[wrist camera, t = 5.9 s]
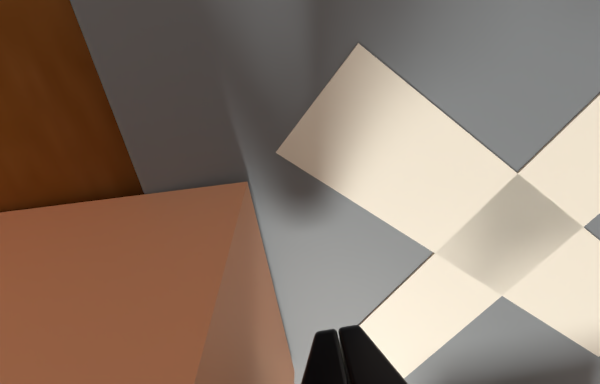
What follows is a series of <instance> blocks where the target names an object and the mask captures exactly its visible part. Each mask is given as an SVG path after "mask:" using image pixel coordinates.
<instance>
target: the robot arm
mask: <svg viewBox="0 0 600 384" xmlns="http://www.w3.org/2000/svg"><path fill="white" fill-rule="evenodd" d="M338 333H339V338H338V334H337V331H336V330H335V329H328V330H322V331H318V332H316V333H315V335H314V339H313V342H312V346H311V349H310V353H309V357H308V360H307V364H306V367H305V371H304V374H303V378H302V382H301V384H408V383H407V382H406V381H405V380H404V378H403V377H402V376H401V375H400V373H399V372H398V371H397V370H396V369H395V367H394V366H393V365H392V364H391V363H390V361H389V360H388V359H387V358H386V357H385V355H384V354H383V353H382V352H381V351H380V349H379V348H378V347H377V346H376V345H375V343H374V342H373V341H372V340H371V339H370V337H369V336H368V335H367V334H366V333H365V331H364V330H363V329H362V328H361V327H360V326H359V325H351V326H345V327H341V328H340V329H339V330H338ZM339 341H340V343H339Z"/></svg>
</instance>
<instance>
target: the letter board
mask: <svg viewBox="0 0 600 384" xmlns="http://www.w3.org/2000/svg"><path fill="white" fill-rule="evenodd" d="M70 2H71V5H72V8H73V10H74V13H75V15H76V18H77V21H78V23H79V26H80V28H81V31H82V33H83V36H84V39H85V41H86V44H87V46H88V49H89V52H90V54H91V57H92V59H93V62H94V65H95V67H96V70H97V72H98V75H99V78H100V80H101V83H102V85H103V88H104V91H105V93H106V96H107V98H108V101H109V104H110V106H111V109H112V111H113V114H114V117H115V119H116V122H117V124H118V127H119V130H120V132H121V135H122V137H123V140H124V143H125V145H126V148H127V150H128V153H129V156H130V158H131V161H132V163H133V166H134V169H135V171H136V174H137V176H138V179H139V182H140V184H141V187H142V189H143V192H144V194H152V193H160V192H168V191H176V190H184V189H192V188H200V187H208V186H216V185H224V184H232V183H240V182H248V186H249V190H250V194H251V198H252V202H253V206H254V210H255V214H256V218H257V222H258V226H259V230H260V234H261V238H262V242H263V246H264V250H265V254H266V258H267V262H268V266H269V270H270V274H271V278H272V282H273V286H274V290H275V295H276V299H277V303H278V307H279V311H280V315H281V319H282V323H283V327H284V331H285V335H286V339H287V343H288V347H289V351H290V355H291V359H292V363H293V367H294V371H295V373H294V384H301V382H302V378H303V374H304V371H305V367H306V364H307V360H308V357H309V353H310V349H311V346H312V342H313V339H314V335H315V333H316V332H318V331H322V330H328V329H335V330H336V331H337V334H338V338H339V333H338V330H339V329H340V328H341V327H345V326H351V325H359V326H360V327H361V328H362V329H363V330H364V331H365V333H366V334H367V335H368V336H369V337H370V339H371V340H372V341H373V342H374V343H375V345H376V346H377V347H378V348H379V349H380V351H381V352H382V353H383V354H384V355H385V357H386V358H387V359H388V360H389V361H390V363H391V364H392V365H393V366H394V367H395V369H396V370H397V371H398V372H399V373H400V375H401V376H402V377H403V378H404V380H405V381H406V382H407V383H408V384H600V0H70ZM339 343H340V341H339Z"/></svg>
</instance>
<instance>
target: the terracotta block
mask: <svg viewBox="0 0 600 384" xmlns="http://www.w3.org/2000/svg"><path fill="white" fill-rule="evenodd" d="M294 373H295V371H294V367H293V363H292V359H291V355H290V351H289V347H288V343H287V339H286V335H285V331H284V327H283V323H282V319H281V315H280V311H279V307H278V303H277V299H276V295H275V290H274V286H273V282H272V278H271V274H270V270H269V266H268V262H267V258H266V254H265V250H264V246H263V242H262V238H261V234H260V230H259V226H258V222H257V218H256V214H255V210H254V206H253V202H252V198H251V194H250V190H249V186H248V182H240V183H232V184H224V185H216V186H208V187H200V188H192V189H184V190H176V191H168V192H160V193H152V194H144V195H136V196H128V197H120V198H112V199H104V200H96V201H88V202H80V203H72V204H64V205H56V206H48V207H40V208H32V209H24V210H16V211H8V212H0V384H294Z"/></svg>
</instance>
